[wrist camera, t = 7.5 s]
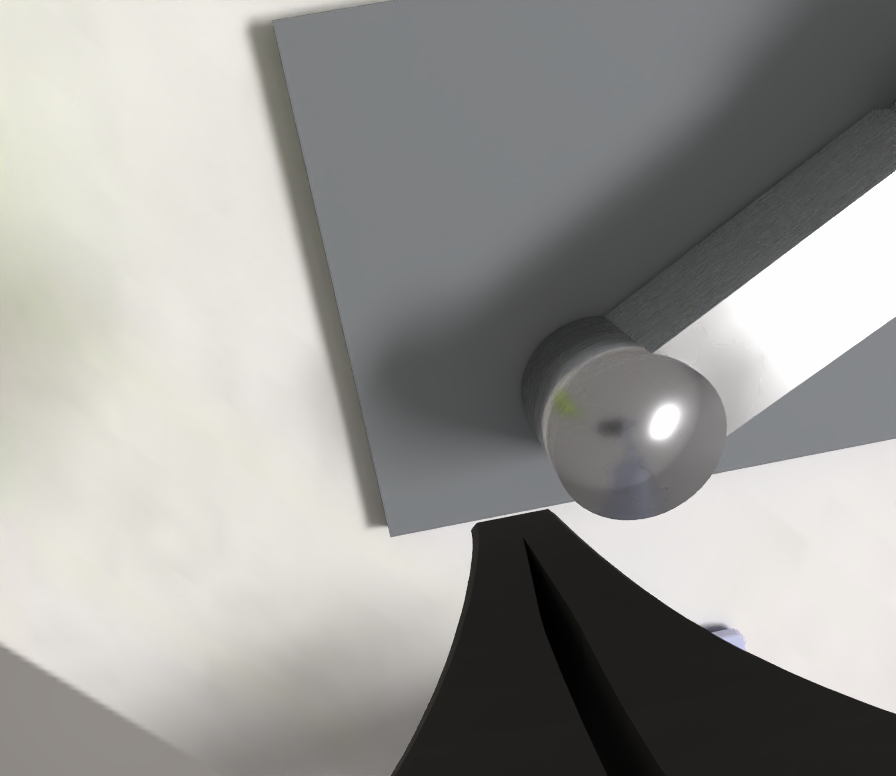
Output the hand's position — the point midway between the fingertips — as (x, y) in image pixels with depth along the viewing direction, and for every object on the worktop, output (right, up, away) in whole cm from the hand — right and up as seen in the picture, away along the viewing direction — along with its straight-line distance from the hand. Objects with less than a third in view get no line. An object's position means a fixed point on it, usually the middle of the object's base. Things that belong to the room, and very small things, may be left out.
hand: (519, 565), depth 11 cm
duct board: (+8, +8, +9) cm, 14 cm away
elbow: (+7, +6, +8) cm, 12 cm away
